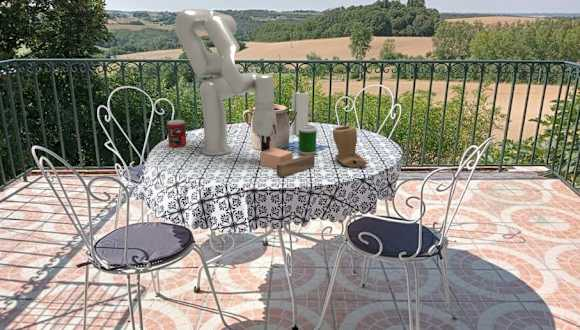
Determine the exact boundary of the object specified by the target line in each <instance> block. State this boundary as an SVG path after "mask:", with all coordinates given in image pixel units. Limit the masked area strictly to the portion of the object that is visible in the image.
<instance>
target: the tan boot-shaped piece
mask: <svg viewBox="0 0 580 330" xmlns="http://www.w3.org/2000/svg"><path fill="white" fill-rule="evenodd" d="M332 136H333V141H334V144H335V145H336V149H337V152H338V153H337V154H336V155H335V159H336V160H337V161H338V162H339V163H341V164H342V165H344V166H347V167H350V168H359V167H363V166H366V165H367V164H368V161H366V160H365V158H363V157H362V156H360V155H359V154H357V153H356V150H357V149H356V147H357V142H358V133H357V128H356V126H354V125H342V126H337V127H335V128H333V129H332Z"/></svg>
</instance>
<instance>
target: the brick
mask: <svg viewBox="0 0 580 330" xmlns="http://www.w3.org/2000/svg"><path fill="white" fill-rule="evenodd" d="M259 155H260V157H259V161H260V166H263V167H266V168H270V169H275V170H277V164H279V163H282V162H286V161H289V160H292V159H294V157H293V156H294V152H293V151H289V150H285V149H280V148H276V147H270V149H268V150H265V151H260V153H259Z"/></svg>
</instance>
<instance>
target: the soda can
mask: <svg viewBox="0 0 580 330" xmlns="http://www.w3.org/2000/svg"><path fill="white" fill-rule="evenodd" d="M317 130H318V129H317V128H316V127H315V125H312V124H311V125H310V124H308V125H303V126H301V127H300V128H299V136H298V152H299V153H300V155H301V156H305V155H308V154H310V155H314V156H315V154H316V153H317Z"/></svg>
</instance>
